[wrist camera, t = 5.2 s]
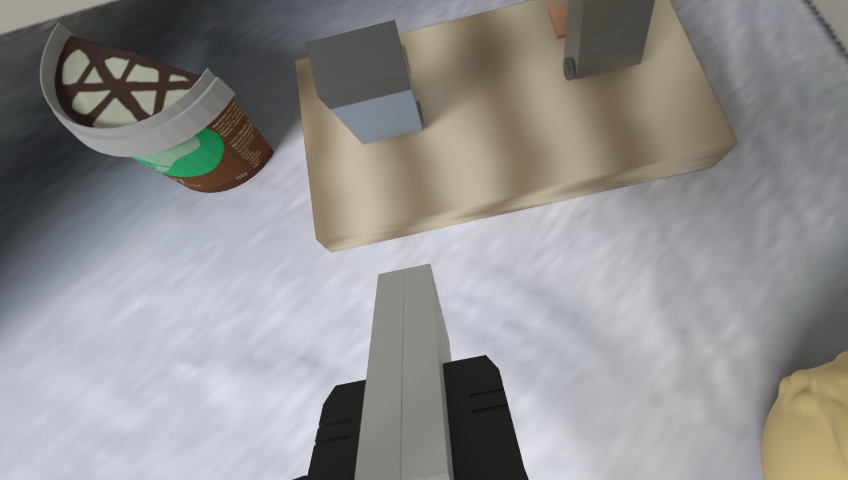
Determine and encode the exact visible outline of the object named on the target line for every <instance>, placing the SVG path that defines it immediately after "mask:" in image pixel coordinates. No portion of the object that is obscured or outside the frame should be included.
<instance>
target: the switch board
mask: <svg viewBox="0 0 848 480" xmlns="http://www.w3.org/2000/svg"><path fill="white" fill-rule="evenodd" d="M567 7H568V0H531V1H527V2H523V3H519V4H515V5H511V6H507V7H504V8H500V9H496V10H492V11H488V12H484V13H480V14H476V15H472V16H468V17H464V18H460V19H456V20H453V21H449V22H445V23H441V24H437V25H433V26H429V27H425V28H421V29H417V30H413V31H409V32H405V33H402V34H399V38H400V42H401V45H402V49H403V53H404V57H405V60H406V64H407V68H408V71H409V75H410V79H411V83H412V86H413V90H414V94H415V98H416V101H419V102H420V106H421V110H422V115H423V119H424V123H421V125H422V129H423V130H422V131H418V132H414V133H410V134H405V135H401V136H397V137H393V138H389V139H385V140H380V141H376V142H372V143H368V144H364V145H363V144H362V143H361V142H360V141H359V140H358V139H357V138H356V137H355V136H354V135H353V133H352V132H351V131H350V130H349V129H348V128H347V127H346V126H345V125H344V124H343V123H342V122H341V121H340V120H339V119H338V118H337V117H336V116H335V114H334V113H333V112H332V111H331V110H330V109H329V108H328V107H327V106H326V105H325V104H324V103H323V102H322V101H321V100H320V99H319V98H318V97H317V92H316V88H315V83H314V79H313V74H312V70H311V65H310V61H309V57H307V58H303V59H300V60H296V61H295V67H296V76H297V84H298V92H299V101H300V109H301V117H302V126H303V134H304V143H305V151H306V159H307V168H308V176H309V184H310V193H311V201H312V210H313V218H314V226H315V235H316V240H317V241H318V242H320V243H321V244H322V245H323V246H324V247H325V248H327V249H328V250H329V251H330V252H331V253H332V252H337V251H341V250H345V249H350V248H354V247H359V246H363V245H368V244H372V243H376V242H381V241H385V240H390V239H394V238H399V237H403V236H408V235H412V234H416V233H421V232H425V231H430V230H434V229H439V228H443V227H447V226H452V225H456V224H461V223H465V222H470V221H474V220H478V219H483V218H487V217H492V216H496V215H501V214H505V213H509V212H514V211H518V210H523V209H527V208H532V207H536V206H541V205H545V204H549V203H554V202H558V201H563V200H567V199H572V198H576V197H580V196H585V195H589V194H594V193H598V192H603V191H607V190H611V189H616V188H620V187H625V186H629V185H634V184H638V183H642V182H647V181H651V180H656V179H660V178H665V177H669V176H674V175H678V174H682V173H687V172H691V171H696V170H700V169H705V168H709V167H713V166H715V165H716V164H717V163H718V162H719V161H720V160H721V159H722V158H723V157H724V156H725V155H726V154H727V153H728V152H729V151H730V150H731V149H732V148H733V147H734V146H736V145H737V144H738V143H737V141H736V139H735V137H734V134H733V132H732V130H731V128H730V126H729V124H728V122H727V120H726V118H725V116H724V113H723V111H722V109H721V107H720V105H719V103H718V101H717V99H716V97H715V95H714V92H713V90H712V88H711V86H710V84H709V82H708V80H707V78H706V76H705V73H704V71H703V69H702V67H701V65H700V63H699V61H698V59H697V57H696V55H695V52H694V50H693V48H692V46H691V44H690V42H689V40H688V38H687V36H686V34H685V31H684V29H683V27H682V25H681V23H680V21H679V19H678V17H677V15H676V13H675V10H674V8H673V6H672V4H671V2H670V0H655V3H654V8H653V12H652V16H651V21H650V25H649V30H648V34H647V39H646V43H645V47H644V52H643V56H642V61H641V64H639V65H635V66H631V67H626V68H622V69H618V70H614V71H610V72H606V73H602V74H598V75H593V76H589V77H585V78H581V79H577V80H576V79H574V80H570V81H567V80H566V78H565V75H564V70H563V61H564V48H565V34H566V21H567Z"/></svg>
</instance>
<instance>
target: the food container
mask: <svg viewBox="0 0 848 480" xmlns="http://www.w3.org/2000/svg"><path fill="white" fill-rule="evenodd" d="M40 83H41V87H42V92H43V94H44V97H45V99H46V101H47V103H48V104H49V105H50V107H51V108H52V110H53V112H54V114H55V115H56V116H57V118H58V119H59V120H60V121H61V123H62V124H64V125H65V126H66V127H67V128H68V129H69V130H70V131H71V132H72V133H73V134H74V135H75V136H76V137H77V138H78V139H79V140H80V141H82V142H83V143H84V144H85V145H87V146H88V147H90V148H92V149H94V150H96V151H98V152H101V153H104V154H108V155H112V156H121V157H132V158H133V159H135V160H137V161H139V162H141V163H143V164H145V165H147V166H148V167H150V168H152V169H154V170H156V171H158V172H160V173H162V174H163V175H165V176H167V177H169V178H171V179H173V180H175V181H176V182H178V183H180V184H182V185H184V186H186V187H188V188H190V189H192V190H195V191H199V192H206V193H214V192H222V191H226V190H229V189H232V188H235V187H237V186H239V185H241V184H243V183H245V182H246V181H248V180H249V179H251V178H252V177H253V176H255V175H256V174H257V173H258V172H259V171H260V170H261V169H262V168H263V167H264V166H265V164H266V163H267V162H268V161H269V159H270V158H271V156H272V154H273V153H274V151H273V150H272V149H271V147H270V146H269V145H268V143H267V142H266V141H265V140H264V138H263V137H262V136H261V134H260V133H259V132H258V131H257V129H256V128H255V127H254V125H253V124H252V123H251V122H250V120H249V119H248V118H247V116H246V115H245V114H244V113H243V111H242V110H241V109H240V107H239V106H238V105H237V104H236V102H235V101H234V100H233V96H234V95H235V94H236V93H234V92H233V91H232V90H231V89H230V88H229V87H228V86H227V85H226V84H225V83H224V82H223V81H222V80H221V79H220V78H219V77H216V76H215V75H214V74H213V73H212V72H211V71H210V70H209V69H208V68H207V69H206V70H205V72H204V73H203V74H202V75H196V74H192V73H189V72H186V71H183V70H180V69H177V68H174V67H171V66H168V65H166V64H163V63H160V62H158V61H155V60H153V59H150V58H148V57H145V56H142V55H140V54H137V53H134V52H130V51H126V50H121V49H115V48H111V47H107V46H104V45H100V44H97V43H94V42H91V41H88V40H84V39H81V38H78V37H76V36H75V35H74V34H73V33H71V32H70V31H69V30H68V29H67V28H65V27H64V26H63V25H62V24H60V23H58V24H57V25H56V27H55V29H54V30H53V32H52V33H51V35H50V37H49V39H48V41H47V43H46V46H45V49H44V52H43V55H42V59H41V66H40Z"/></svg>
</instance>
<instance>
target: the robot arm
mask: <svg viewBox="0 0 848 480" xmlns="http://www.w3.org/2000/svg"><path fill="white" fill-rule="evenodd" d="M315 443H316V445H315V446H314V449H313V453H312V458H311V462H310V467H309V471H308V476H302V477H299V478H296V479H293V480H529V479H528V477H527V474H526V472H525V469H524V465H523V461H522V457H521V453H520V449H519V445H518V442H517V438H516V434H515V430H514V426H513V422H512V418H511V414H510V410H509V407H508V402H507V399H506V395H505V391H504V387H503V383H502V379H501V375H500V371H499V369H498V368H497V367H496V365H495V364H494V363H493V362H492V361H491V360H490V359H489V358H488V357H487V356H486V355H483V356H478V357H473V358H468V359H463V360H457V361H452V360H451V352H450V344H449V338H448V334H447V330H446V326H445V322H444V318H443V314H442V310H441V306H440V302H439V298H438V294H437V290H436V286H435V282H434V278H433V274H432V269H431V265H430V264H426V265H421V266H417V267H412V268H407V269H402V270H397V271H393V272H388V273H383V274H379V275H378V283H377V292H376V300H375V309H374V317H373V326H372V334H371V343H370V351H369V360H368V368H367V377H366V380H362V381H357V382H351V383H346V384H341V385H336V386H335V387H334V389H333V390H332V392H331V393H330V395H329V396H328V398H327V399H326V401H325V403H324V404H323V408H322V412H321V417H320V421H319V428H318V430H317V435H316V440H315Z"/></svg>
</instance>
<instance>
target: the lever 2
mask: <svg viewBox="0 0 848 480" xmlns="http://www.w3.org/2000/svg"><path fill="white" fill-rule="evenodd" d="M654 3H655V0H568V7H567V21H566V34H565V48H564V61H563V70H564V75H565V78H566V80H567V81H570V80H574V79H576V80H577V79H581V78H585V77H589V76H593V75H598V74H602V73H606V72H610V71H614V70H618V69H622V68H626V67H631V66H635V65H639V64H641V61H642V56H643V52H644V47H645V43H646V39H647V34H648V30H649V25H650V21H651V16H652V12H653V8H654Z"/></svg>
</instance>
